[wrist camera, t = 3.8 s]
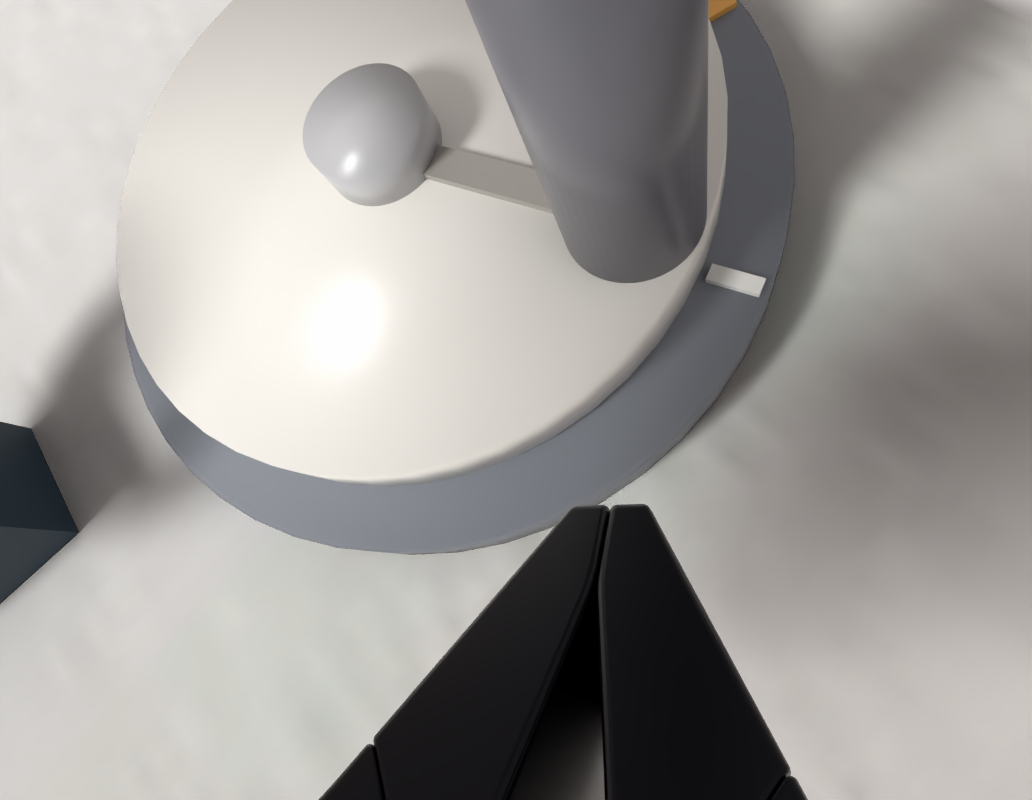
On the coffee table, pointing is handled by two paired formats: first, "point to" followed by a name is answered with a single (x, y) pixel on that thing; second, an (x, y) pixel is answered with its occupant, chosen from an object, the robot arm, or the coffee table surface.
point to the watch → (27, 509)
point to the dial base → (607, 428)
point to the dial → (419, 223)
